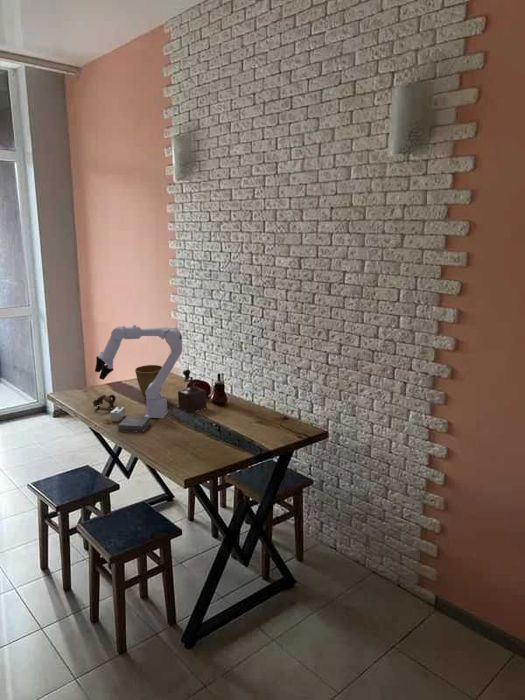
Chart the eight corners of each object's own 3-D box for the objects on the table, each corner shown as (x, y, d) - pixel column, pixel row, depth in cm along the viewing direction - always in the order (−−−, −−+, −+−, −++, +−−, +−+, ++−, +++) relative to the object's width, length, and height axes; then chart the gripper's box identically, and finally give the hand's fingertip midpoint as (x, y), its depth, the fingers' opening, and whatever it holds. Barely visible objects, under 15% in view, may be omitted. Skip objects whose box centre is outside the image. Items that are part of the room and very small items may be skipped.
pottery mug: (106, 414, 265) (97, 400, 264) (96, 418, 271) (87, 405, 269) (123, 401, 274) (114, 388, 273) (113, 406, 280) (104, 393, 279)
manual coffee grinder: (208, 407, 272) (207, 373, 268) (191, 413, 264) (190, 377, 260) (188, 401, 282) (187, 368, 278) (171, 406, 274) (170, 372, 270)
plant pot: (135, 394, 294) (134, 366, 291) (163, 392, 299) (161, 364, 295) (137, 402, 280) (136, 372, 277) (166, 399, 285) (165, 370, 281)
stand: (150, 423, 250) (149, 417, 249) (142, 432, 239) (141, 426, 239) (127, 422, 251) (126, 416, 250) (118, 431, 240) (118, 425, 240)
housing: (117, 415, 261) (116, 406, 260) (125, 416, 261) (124, 406, 260) (111, 421, 254) (110, 412, 253) (119, 421, 253) (118, 412, 252)
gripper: (98, 341, 256) (87, 366, 259) (107, 354, 245) (95, 380, 248) (112, 345, 261) (100, 370, 263) (121, 358, 250) (109, 383, 252)
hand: (99, 375), depth 256 cm, fingers open, 7 cm apart
